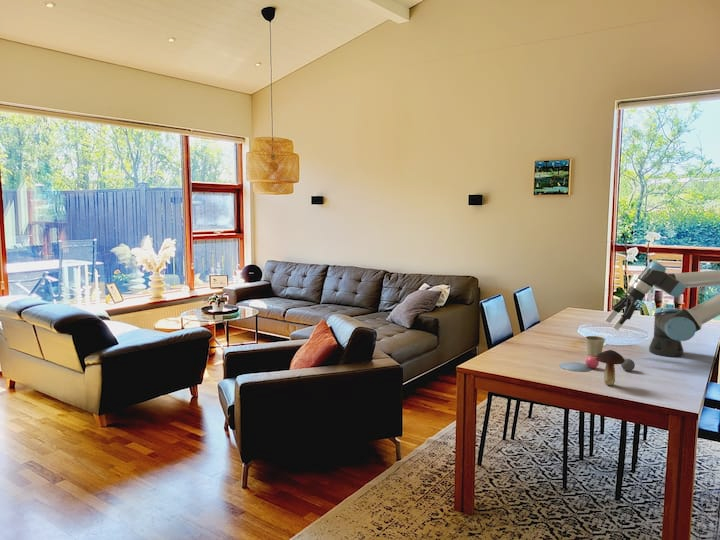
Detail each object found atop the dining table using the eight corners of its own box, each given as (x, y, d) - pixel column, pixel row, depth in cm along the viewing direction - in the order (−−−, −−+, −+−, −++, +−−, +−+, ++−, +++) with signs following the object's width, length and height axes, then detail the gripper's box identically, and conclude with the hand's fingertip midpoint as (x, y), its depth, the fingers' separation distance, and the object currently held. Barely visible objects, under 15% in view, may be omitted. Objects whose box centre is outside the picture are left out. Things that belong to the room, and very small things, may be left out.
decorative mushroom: (615, 391, 214) (616, 355, 212) (589, 384, 222) (591, 349, 221) (628, 385, 220) (630, 350, 218) (603, 378, 229) (605, 345, 227)
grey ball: (633, 369, 242) (633, 357, 241) (635, 373, 236) (636, 361, 236) (619, 368, 243) (620, 356, 242) (622, 372, 238) (622, 360, 237)
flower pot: (603, 352, 269) (603, 336, 268) (606, 358, 260) (607, 340, 259) (583, 351, 271) (583, 335, 270) (585, 356, 262) (586, 339, 261)
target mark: (590, 363, 251) (590, 363, 251) (593, 372, 237) (593, 372, 237) (558, 361, 255) (558, 361, 255) (560, 370, 241) (560, 369, 241)
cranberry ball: (597, 366, 246) (598, 355, 245) (599, 370, 241) (599, 358, 240) (584, 365, 247) (585, 354, 247) (586, 369, 242) (586, 357, 242)
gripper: (624, 281, 267) (597, 314, 272) (640, 290, 243) (611, 327, 248) (636, 289, 267) (610, 322, 272) (655, 299, 243) (625, 336, 248)
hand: (611, 325), depth 260 cm, fingers open, 13 cm apart
